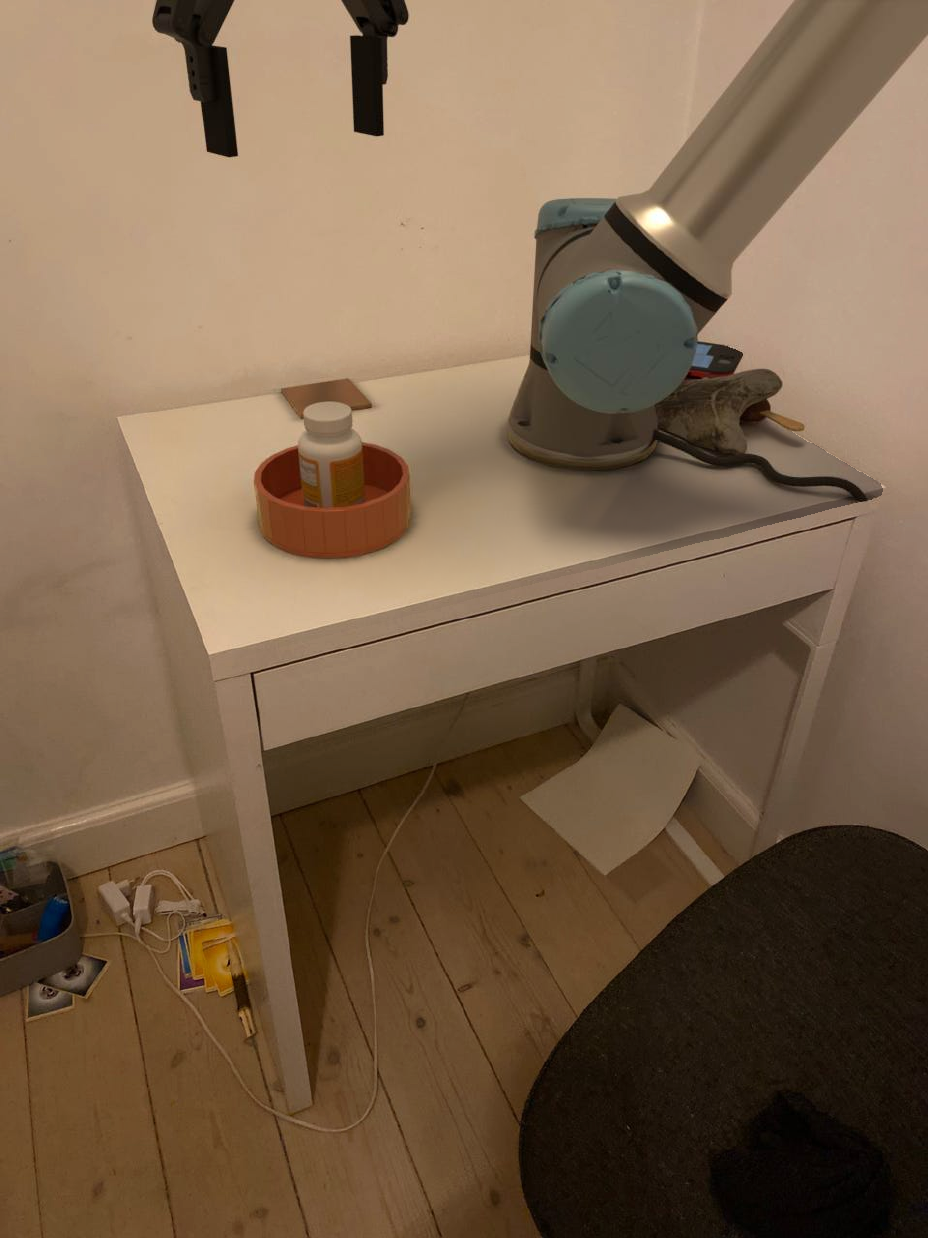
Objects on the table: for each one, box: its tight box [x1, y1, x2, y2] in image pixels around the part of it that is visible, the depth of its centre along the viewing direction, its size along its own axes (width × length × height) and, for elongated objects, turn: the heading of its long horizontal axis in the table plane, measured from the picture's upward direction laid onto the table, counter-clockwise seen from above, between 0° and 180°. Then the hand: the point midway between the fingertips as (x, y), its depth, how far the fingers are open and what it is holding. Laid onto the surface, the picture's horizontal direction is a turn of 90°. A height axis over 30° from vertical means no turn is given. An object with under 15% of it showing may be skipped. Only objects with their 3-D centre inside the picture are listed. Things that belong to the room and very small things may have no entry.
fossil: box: [655, 368, 783, 455], centre depth 100 cm, size 11×5×15 cm
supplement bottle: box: [297, 402, 365, 508], centre depth 81 cm, size 5×5×10 cm
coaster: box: [280, 377, 373, 419], centre depth 106 cm, size 8×8×1 cm
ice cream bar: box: [701, 375, 805, 432], centre depth 101 cm, size 3×5×15 cm
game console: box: [683, 340, 744, 381], centre depth 115 cm, size 14×13×2 cm
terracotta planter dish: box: [253, 441, 412, 559], centre depth 83 cm, size 13×13×4 cm
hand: (299, 143), depth 71 cm, fingers open, 13 cm apart
